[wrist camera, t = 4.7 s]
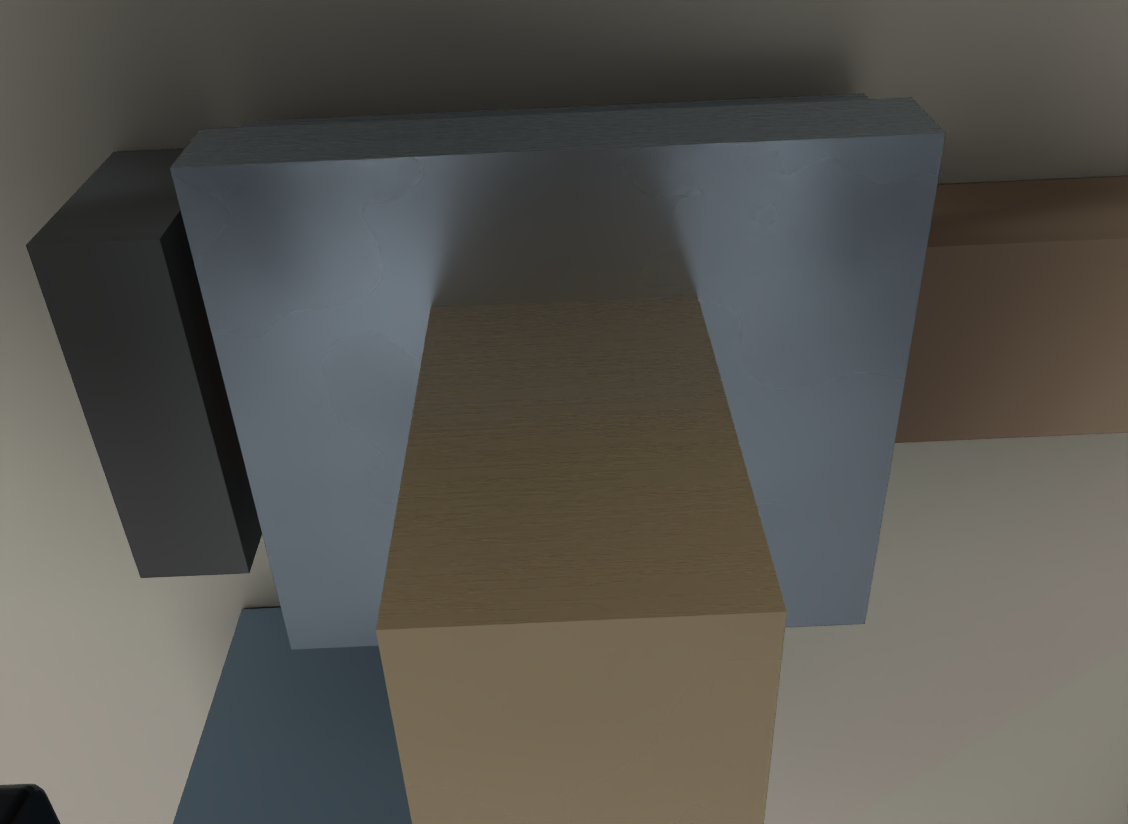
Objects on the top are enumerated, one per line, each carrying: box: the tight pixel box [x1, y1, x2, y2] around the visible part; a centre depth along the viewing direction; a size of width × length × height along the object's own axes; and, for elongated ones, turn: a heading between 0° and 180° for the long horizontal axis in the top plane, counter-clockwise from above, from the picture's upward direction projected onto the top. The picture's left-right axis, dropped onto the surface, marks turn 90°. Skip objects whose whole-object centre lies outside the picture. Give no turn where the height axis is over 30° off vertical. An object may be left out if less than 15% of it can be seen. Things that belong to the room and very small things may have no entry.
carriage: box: [170, 93, 946, 824], centre depth 12 cm, size 8×7×8 cm
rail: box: [26, 149, 1128, 578], centre depth 15 cm, size 22×5×3 cm, turn 92°
